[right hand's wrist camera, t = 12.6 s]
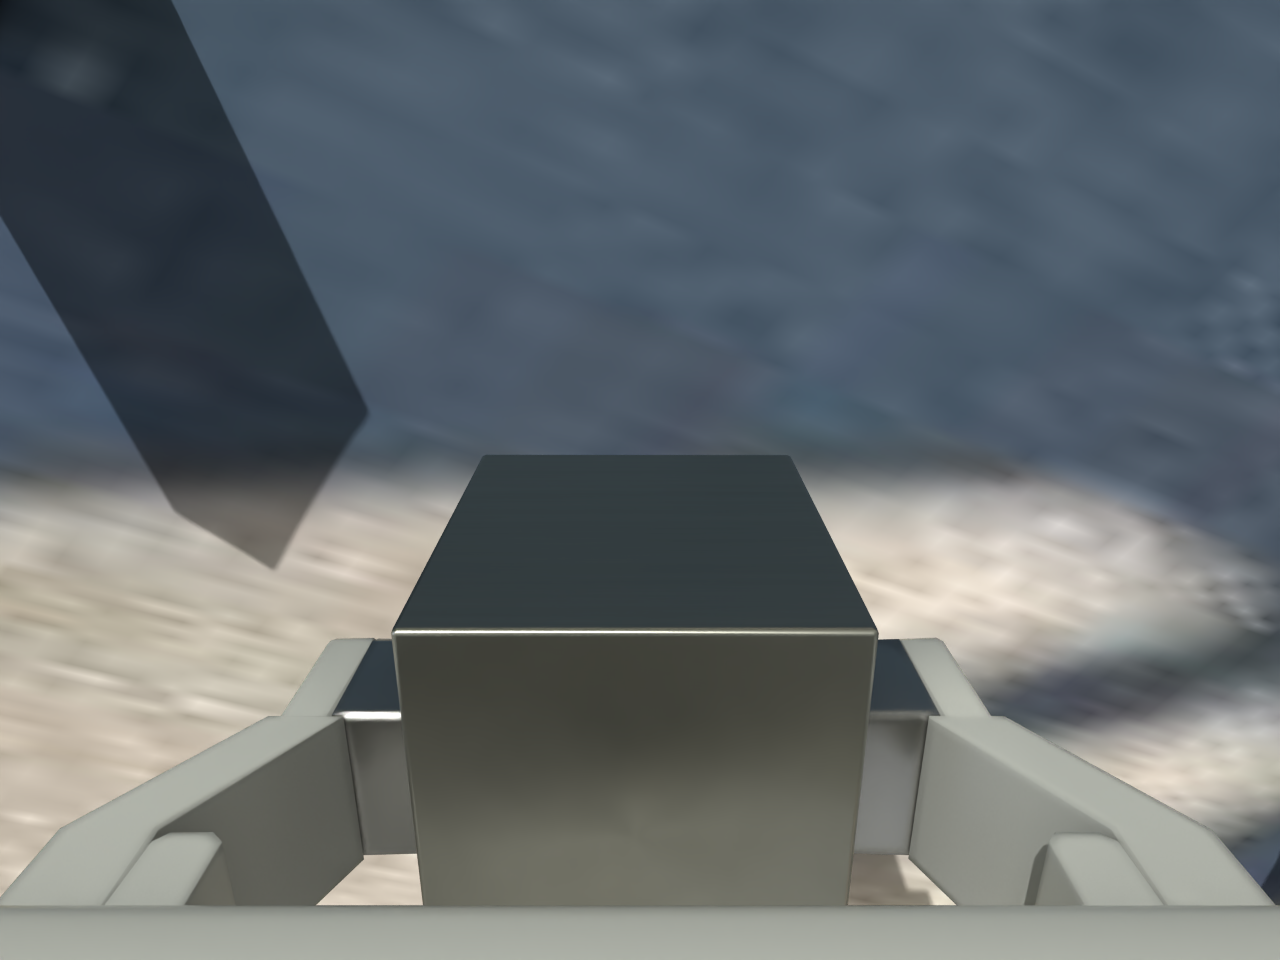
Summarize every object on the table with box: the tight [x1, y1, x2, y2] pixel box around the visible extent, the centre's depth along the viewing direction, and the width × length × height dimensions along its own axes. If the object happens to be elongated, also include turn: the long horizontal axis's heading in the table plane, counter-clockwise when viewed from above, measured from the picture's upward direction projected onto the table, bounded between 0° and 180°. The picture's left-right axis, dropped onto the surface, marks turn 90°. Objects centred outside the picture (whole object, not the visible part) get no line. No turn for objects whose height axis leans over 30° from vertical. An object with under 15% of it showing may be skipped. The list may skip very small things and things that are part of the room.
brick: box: [391, 455, 879, 905], centre depth 10 cm, size 4×4×5 cm
